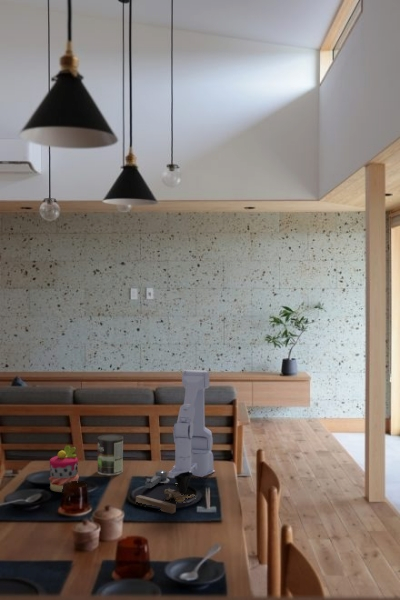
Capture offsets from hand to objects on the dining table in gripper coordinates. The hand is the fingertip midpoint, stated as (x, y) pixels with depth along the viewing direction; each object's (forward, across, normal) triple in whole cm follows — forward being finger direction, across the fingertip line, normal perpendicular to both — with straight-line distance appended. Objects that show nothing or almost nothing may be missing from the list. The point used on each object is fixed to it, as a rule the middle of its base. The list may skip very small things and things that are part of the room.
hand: (182, 492), depth 238 cm
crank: (0, -4, -16) cm, 16 cm away
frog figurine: (+2, +4, +1) cm, 4 cm away
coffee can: (+1, -6, -41) cm, 41 cm away
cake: (+1, +20, -41) cm, 45 cm away
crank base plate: (+1, -8, -17) cm, 19 cm away
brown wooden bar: (+1, +16, 0) cm, 16 cm away
